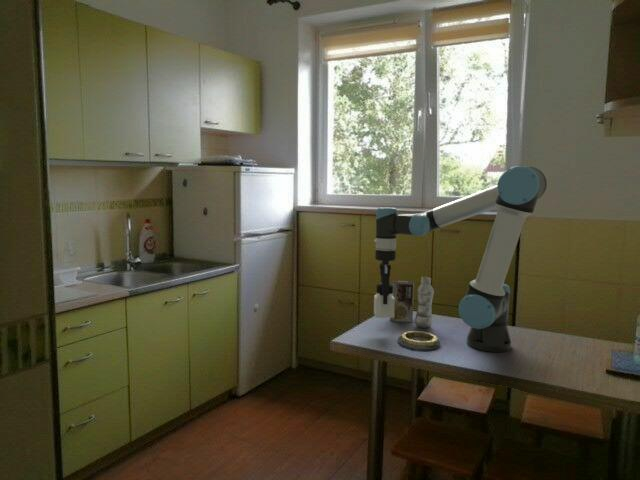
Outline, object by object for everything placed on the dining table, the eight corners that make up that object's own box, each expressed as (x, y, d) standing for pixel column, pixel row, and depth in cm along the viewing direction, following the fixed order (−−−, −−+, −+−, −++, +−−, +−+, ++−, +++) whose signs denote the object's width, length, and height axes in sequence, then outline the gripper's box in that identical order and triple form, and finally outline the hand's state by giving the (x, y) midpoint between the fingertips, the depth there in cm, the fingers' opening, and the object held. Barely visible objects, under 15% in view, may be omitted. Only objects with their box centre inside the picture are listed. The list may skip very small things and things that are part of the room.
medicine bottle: (394, 318, 181) (395, 286, 179) (375, 317, 181) (376, 285, 180) (392, 312, 188) (393, 282, 187) (373, 312, 188) (374, 281, 187)
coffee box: (412, 318, 208) (414, 281, 206) (411, 322, 202) (413, 284, 200) (391, 316, 210) (392, 279, 208) (389, 320, 204) (391, 282, 202)
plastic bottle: (414, 324, 200) (416, 276, 197) (431, 325, 199) (434, 276, 196) (415, 328, 194) (417, 279, 191) (432, 330, 193) (435, 280, 190)
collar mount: (436, 337, 184) (437, 331, 183) (443, 351, 169) (443, 344, 168) (396, 335, 185) (396, 329, 184) (399, 349, 170) (399, 342, 170)
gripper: (374, 245, 192) (373, 302, 195) (376, 252, 172) (374, 316, 175) (394, 246, 191) (392, 303, 194) (397, 253, 171) (396, 317, 174)
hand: (384, 309), depth 184 cm, fingers closed on medicine bottle, 7 cm apart
